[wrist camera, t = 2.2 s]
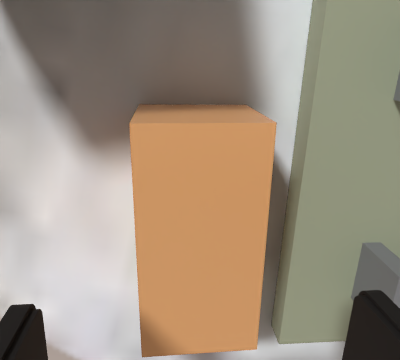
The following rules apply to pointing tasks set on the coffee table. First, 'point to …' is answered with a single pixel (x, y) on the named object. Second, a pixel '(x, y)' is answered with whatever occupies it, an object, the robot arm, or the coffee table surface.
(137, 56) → the coffee table surface
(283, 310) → the green bracket base plate
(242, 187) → the tall tan rectangular prism
